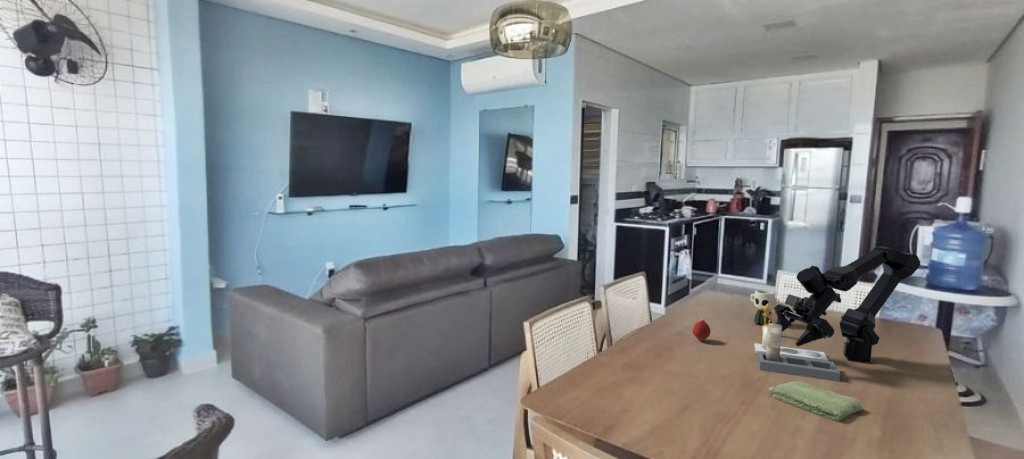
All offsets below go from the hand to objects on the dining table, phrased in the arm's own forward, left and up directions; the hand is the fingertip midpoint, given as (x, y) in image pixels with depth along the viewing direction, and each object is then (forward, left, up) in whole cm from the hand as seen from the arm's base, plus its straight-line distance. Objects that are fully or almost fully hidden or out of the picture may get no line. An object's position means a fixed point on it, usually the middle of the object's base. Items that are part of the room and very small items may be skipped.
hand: (784, 340), depth 151 cm
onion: (+24, -13, -8) cm, 29 cm away
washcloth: (-4, +25, -9) cm, 27 cm away
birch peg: (+3, +2, -8) cm, 9 cm away
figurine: (+2, -30, -8) cm, 31 cm away
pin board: (-3, +2, -8) cm, 9 cm away
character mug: (+2, -45, -8) cm, 46 cm away
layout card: (-3, -12, -8) cm, 15 cm away
